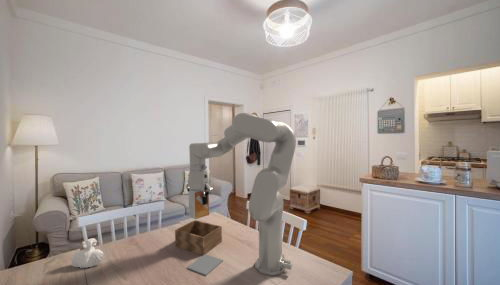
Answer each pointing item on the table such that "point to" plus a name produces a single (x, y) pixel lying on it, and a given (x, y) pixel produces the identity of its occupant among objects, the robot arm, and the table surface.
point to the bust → (87, 255)
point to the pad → (205, 264)
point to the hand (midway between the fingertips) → (198, 202)
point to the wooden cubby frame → (198, 236)
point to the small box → (197, 205)
